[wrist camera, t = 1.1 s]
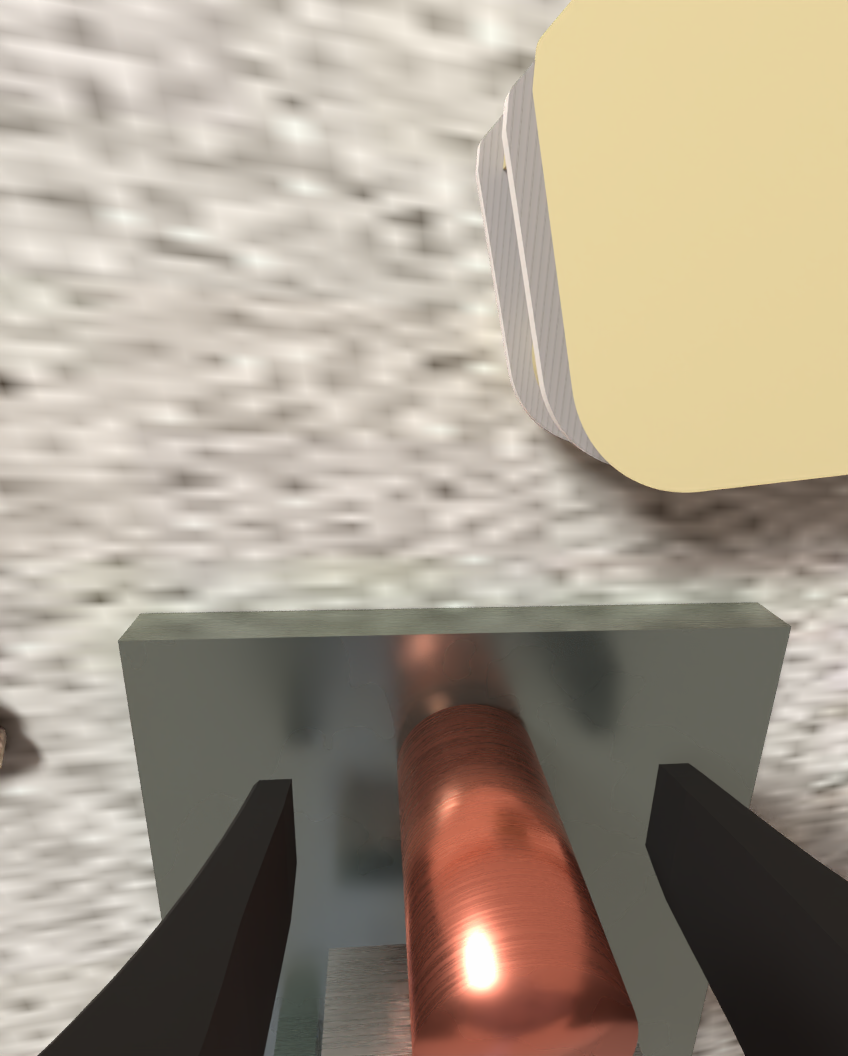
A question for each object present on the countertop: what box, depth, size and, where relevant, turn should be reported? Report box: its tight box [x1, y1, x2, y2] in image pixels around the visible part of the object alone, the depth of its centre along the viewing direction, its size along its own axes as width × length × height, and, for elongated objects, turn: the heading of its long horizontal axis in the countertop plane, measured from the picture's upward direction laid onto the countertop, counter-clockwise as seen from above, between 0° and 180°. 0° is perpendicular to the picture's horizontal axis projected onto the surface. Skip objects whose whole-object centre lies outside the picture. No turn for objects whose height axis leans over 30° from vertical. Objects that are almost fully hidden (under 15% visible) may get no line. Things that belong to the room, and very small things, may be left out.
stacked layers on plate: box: [476, 0, 848, 493], centre depth 9 cm, size 10×9×6 cm
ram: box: [321, 704, 643, 1056], centre depth 11 cm, size 7×6×6 cm
